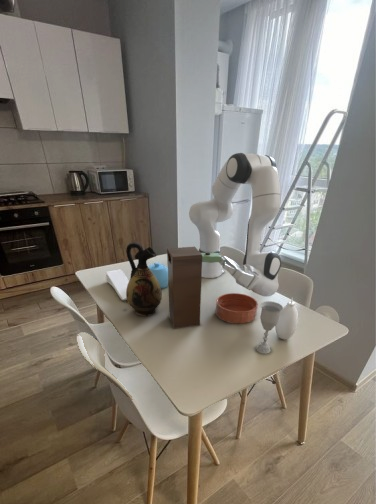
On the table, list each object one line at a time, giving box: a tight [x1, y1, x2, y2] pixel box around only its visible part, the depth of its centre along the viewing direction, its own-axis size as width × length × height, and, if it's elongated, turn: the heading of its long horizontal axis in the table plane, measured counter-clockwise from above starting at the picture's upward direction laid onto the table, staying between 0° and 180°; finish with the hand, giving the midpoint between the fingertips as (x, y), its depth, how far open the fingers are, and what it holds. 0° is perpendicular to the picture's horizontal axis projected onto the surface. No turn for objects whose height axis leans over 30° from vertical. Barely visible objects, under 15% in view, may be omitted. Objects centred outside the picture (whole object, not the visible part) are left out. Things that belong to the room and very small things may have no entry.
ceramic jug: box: [125, 241, 163, 317], centre depth 121 cm, size 17×15×30 cm
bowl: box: [215, 292, 259, 324], centre depth 126 cm, size 18×18×6 cm
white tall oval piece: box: [274, 296, 299, 340], centre depth 107 cm, size 8×8×18 cm
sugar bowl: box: [148, 262, 168, 290], centre depth 150 cm, size 15×15×12 cm
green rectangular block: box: [201, 252, 223, 262], centre depth 109 cm, size 4×13×3 cm, turn 104°
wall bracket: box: [105, 268, 130, 301], centre depth 147 cm, size 10×7×28 cm
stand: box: [166, 246, 203, 329], centre depth 114 cm, size 10×11×30 cm
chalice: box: [256, 300, 284, 355], centre depth 101 cm, size 7×7×18 cm
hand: (219, 261), depth 112 cm, fingers open, 8 cm apart
